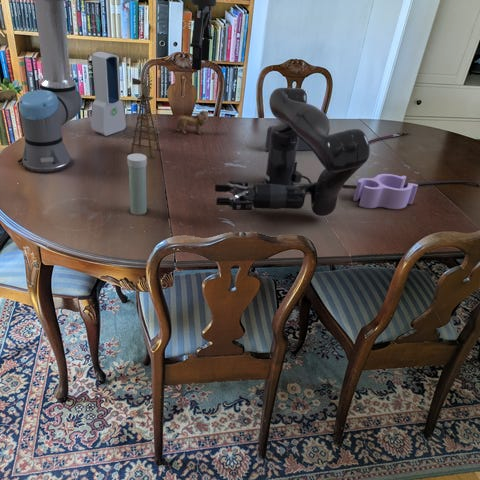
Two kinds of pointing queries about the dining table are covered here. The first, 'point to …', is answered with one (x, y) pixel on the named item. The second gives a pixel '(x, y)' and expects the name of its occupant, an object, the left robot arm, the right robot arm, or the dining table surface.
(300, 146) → the handheld gaming console
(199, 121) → the lion figurine
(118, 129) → the electronic device
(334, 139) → the right robot arm
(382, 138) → the sword
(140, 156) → the lid
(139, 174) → the green bottle
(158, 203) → the dining table surface
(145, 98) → the miniature windmill
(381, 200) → the clip
